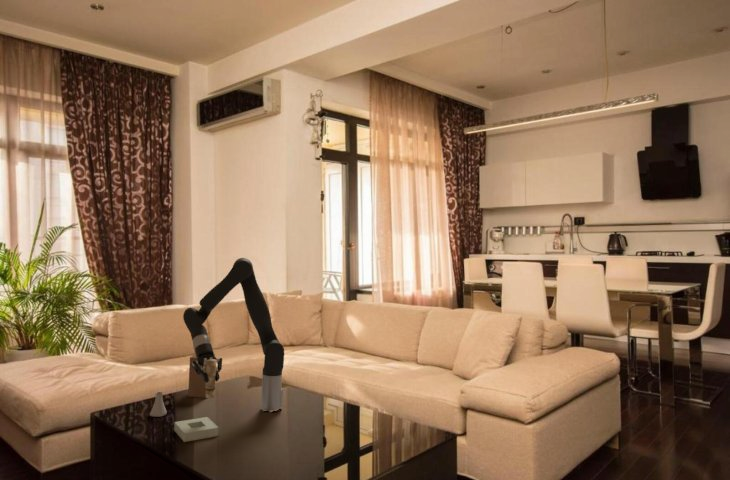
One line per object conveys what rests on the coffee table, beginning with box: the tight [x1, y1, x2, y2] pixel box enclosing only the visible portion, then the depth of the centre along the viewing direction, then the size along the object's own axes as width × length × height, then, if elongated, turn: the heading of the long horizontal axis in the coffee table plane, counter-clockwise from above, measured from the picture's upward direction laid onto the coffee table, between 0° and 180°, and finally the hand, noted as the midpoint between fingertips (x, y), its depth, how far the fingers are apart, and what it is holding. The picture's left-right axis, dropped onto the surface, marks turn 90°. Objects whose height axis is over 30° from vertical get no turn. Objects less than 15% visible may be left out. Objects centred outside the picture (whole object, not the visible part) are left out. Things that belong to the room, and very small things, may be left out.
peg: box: [205, 359, 217, 399], centre depth 236 cm, size 4×4×16 cm
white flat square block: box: [173, 416, 220, 443], centre depth 227 cm, size 14×14×4 cm
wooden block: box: [187, 353, 216, 399], centre depth 278 cm, size 10×10×20 cm
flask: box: [149, 391, 168, 418], centre depth 247 cm, size 7×7×10 cm
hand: (212, 380), depth 234 cm, fingers closed on peg, 4 cm apart
